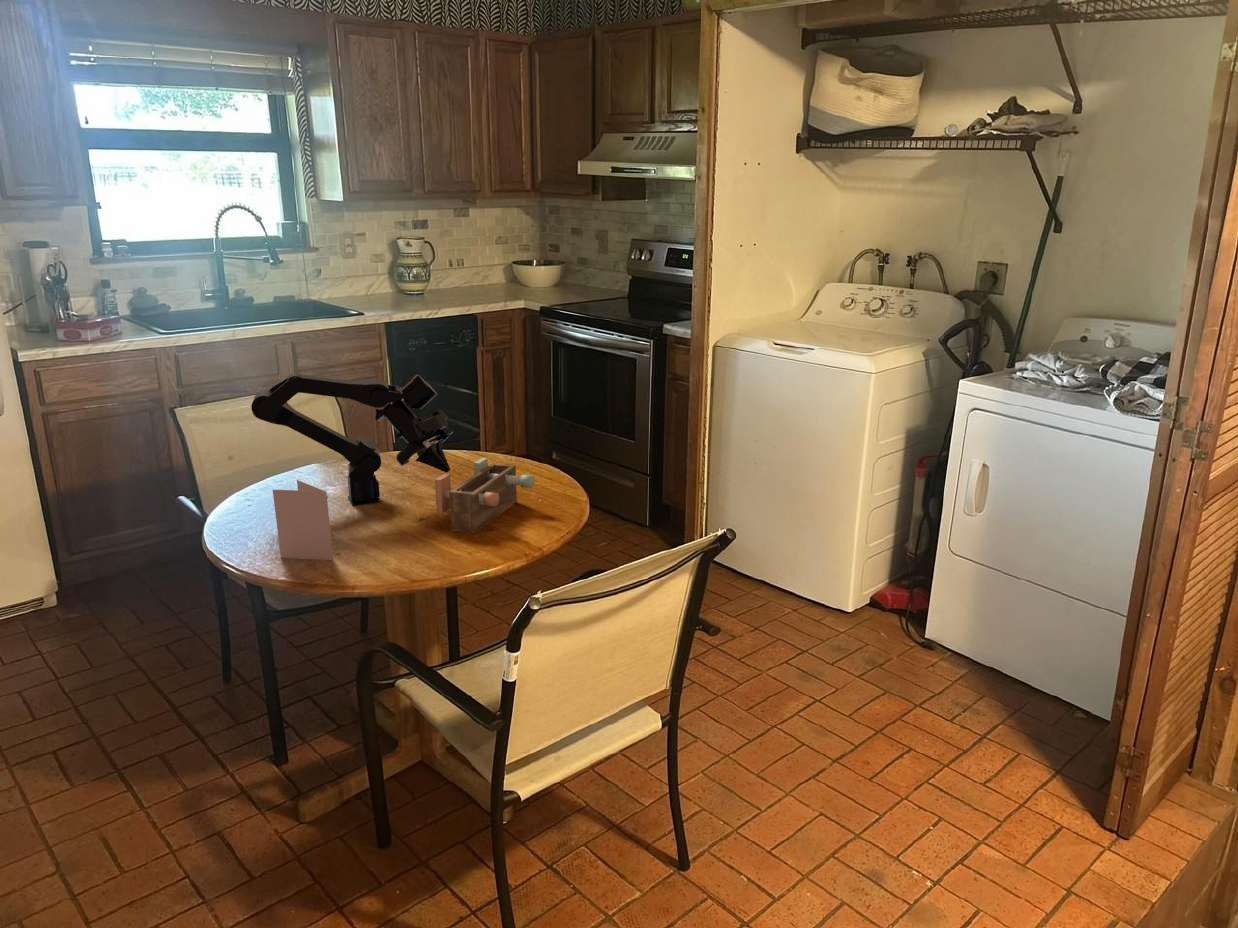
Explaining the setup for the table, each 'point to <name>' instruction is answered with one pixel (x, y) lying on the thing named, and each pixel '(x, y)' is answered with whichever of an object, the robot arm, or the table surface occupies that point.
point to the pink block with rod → (445, 486)
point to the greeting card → (303, 523)
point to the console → (466, 504)
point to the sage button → (523, 480)
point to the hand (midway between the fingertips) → (448, 471)
